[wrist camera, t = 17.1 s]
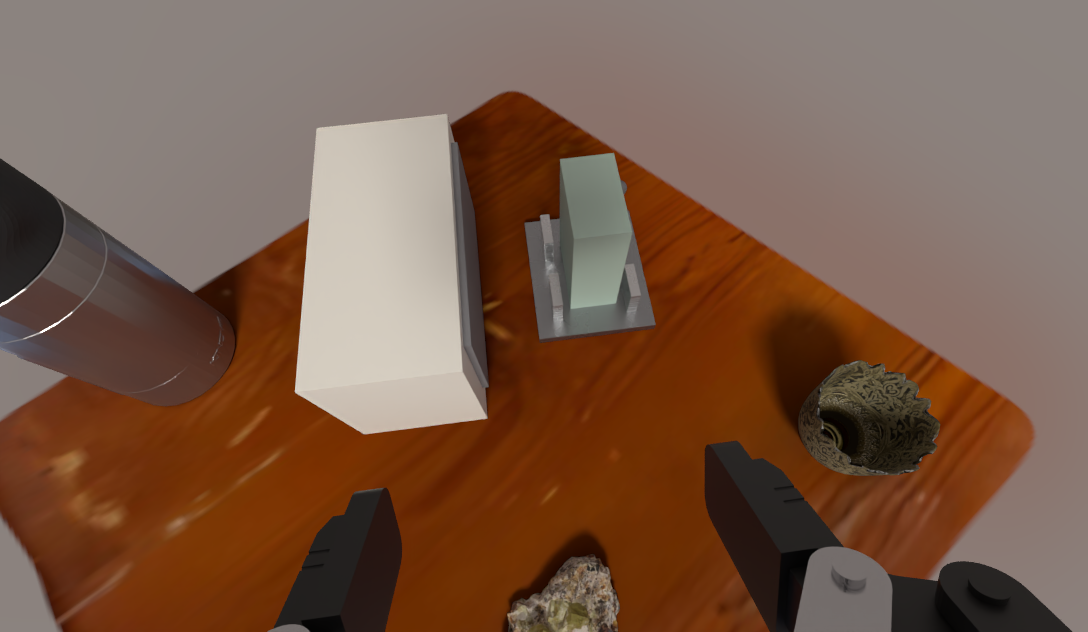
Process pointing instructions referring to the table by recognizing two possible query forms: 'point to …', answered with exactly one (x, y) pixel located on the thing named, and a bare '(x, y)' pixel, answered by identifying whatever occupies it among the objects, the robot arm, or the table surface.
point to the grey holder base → (554, 299)
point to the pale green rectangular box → (593, 229)
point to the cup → (867, 422)
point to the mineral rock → (570, 601)
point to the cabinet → (392, 280)
